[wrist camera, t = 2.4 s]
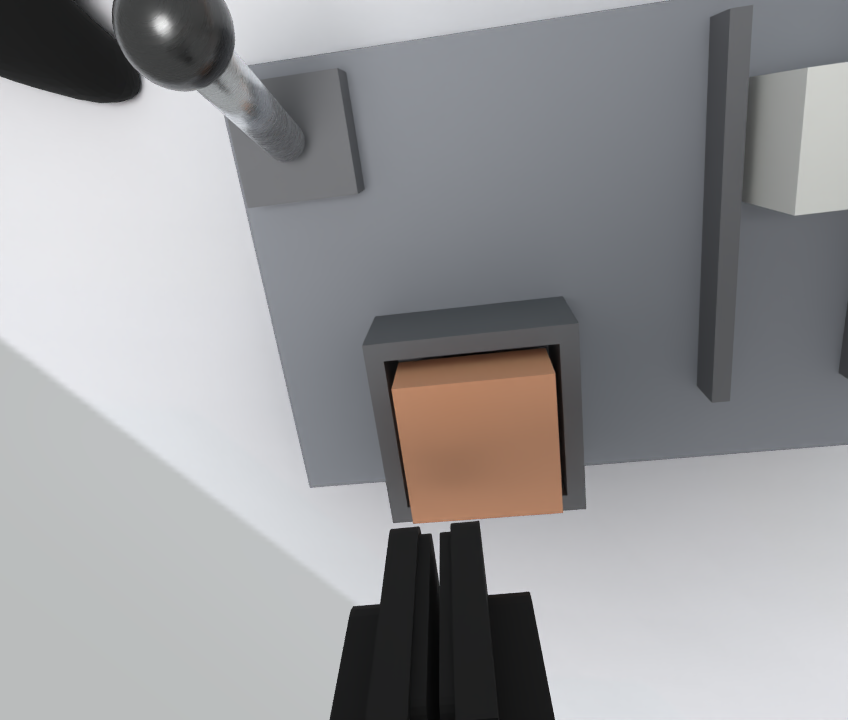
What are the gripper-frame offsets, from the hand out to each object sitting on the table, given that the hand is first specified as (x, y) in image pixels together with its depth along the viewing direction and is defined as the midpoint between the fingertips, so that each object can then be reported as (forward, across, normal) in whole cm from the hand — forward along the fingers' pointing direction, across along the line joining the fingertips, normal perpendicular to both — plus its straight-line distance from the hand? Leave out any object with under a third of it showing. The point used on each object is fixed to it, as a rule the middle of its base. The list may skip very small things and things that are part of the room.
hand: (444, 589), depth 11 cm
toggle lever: (+7, +3, -8) cm, 11 cm away
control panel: (+10, -4, -4) cm, 12 cm away
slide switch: (+8, -10, -7) cm, 14 cm away
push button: (+6, -1, 0) cm, 6 cm away
